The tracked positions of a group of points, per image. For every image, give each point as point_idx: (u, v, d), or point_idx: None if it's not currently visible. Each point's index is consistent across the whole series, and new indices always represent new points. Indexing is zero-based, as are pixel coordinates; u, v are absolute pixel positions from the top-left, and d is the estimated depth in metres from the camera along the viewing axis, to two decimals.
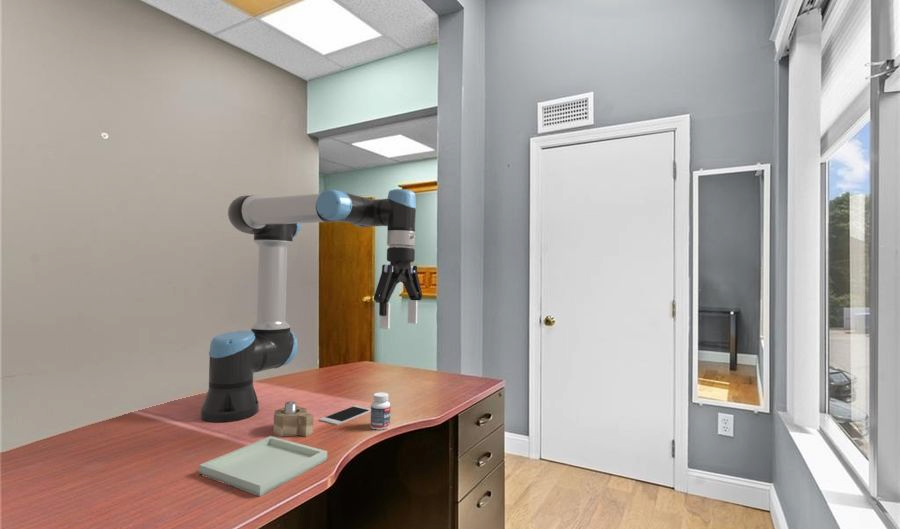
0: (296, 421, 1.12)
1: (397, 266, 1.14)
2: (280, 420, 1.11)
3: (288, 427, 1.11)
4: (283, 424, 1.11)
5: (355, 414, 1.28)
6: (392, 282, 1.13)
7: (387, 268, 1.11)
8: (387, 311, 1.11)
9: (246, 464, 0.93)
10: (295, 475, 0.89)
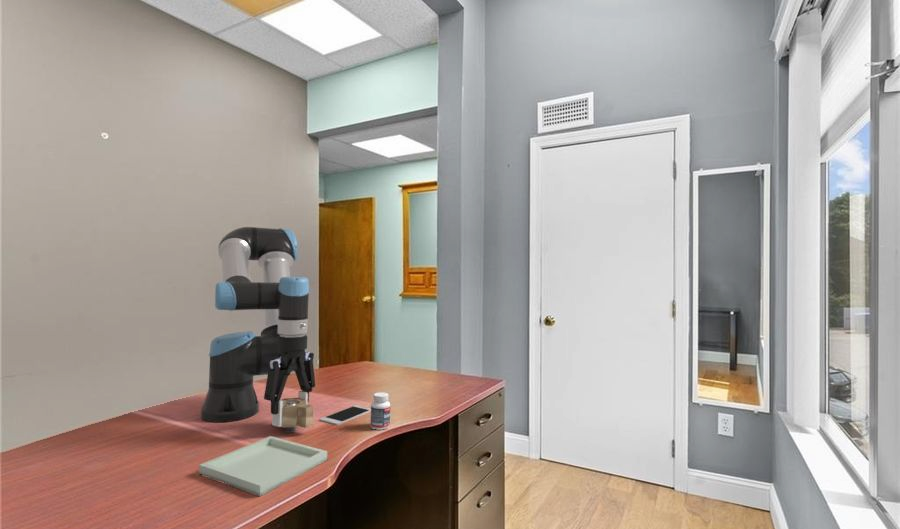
0: (296, 412, 1.12)
1: (285, 357, 1.12)
2: None
3: (288, 418, 1.12)
4: (282, 415, 1.11)
5: (355, 414, 1.28)
6: (282, 376, 1.12)
7: (273, 366, 1.09)
8: (279, 409, 1.11)
9: (246, 464, 0.93)
10: (295, 475, 0.89)
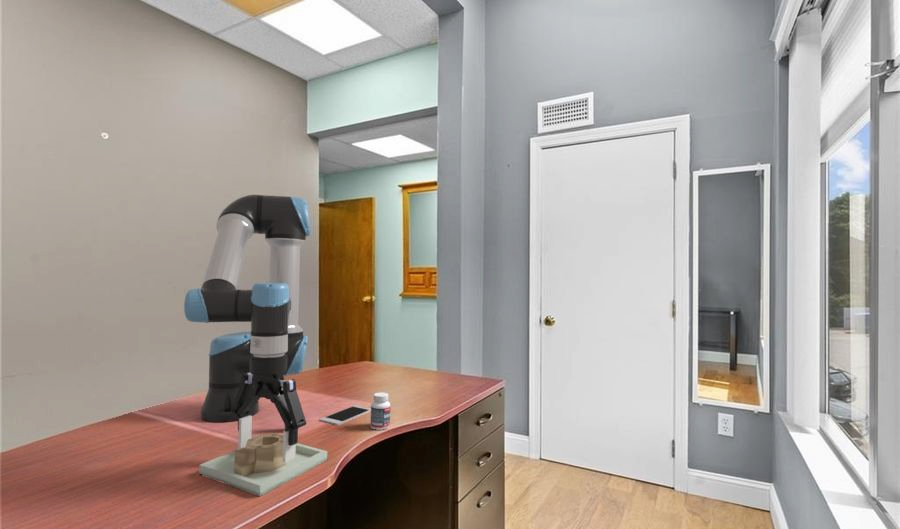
0: None
1: (254, 377, 0.94)
2: None
3: None
4: None
5: (355, 414, 1.28)
6: None
7: None
8: None
9: None
10: (295, 475, 0.89)
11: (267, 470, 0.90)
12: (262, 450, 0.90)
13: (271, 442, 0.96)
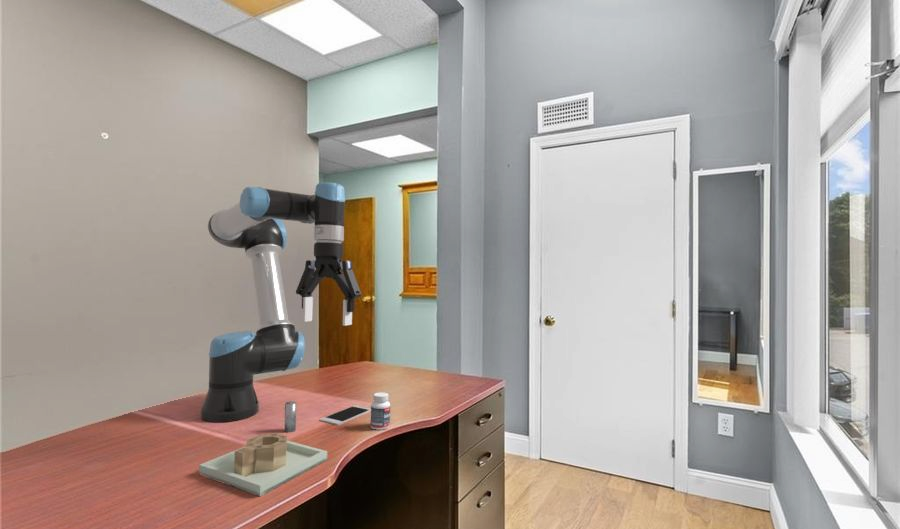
0: None
1: (316, 262, 1.15)
2: None
3: None
4: None
5: (355, 414, 1.28)
6: None
7: None
8: None
9: None
10: (295, 475, 0.89)
11: (267, 470, 0.90)
12: (262, 450, 0.90)
13: (271, 442, 0.96)
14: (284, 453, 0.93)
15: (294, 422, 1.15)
